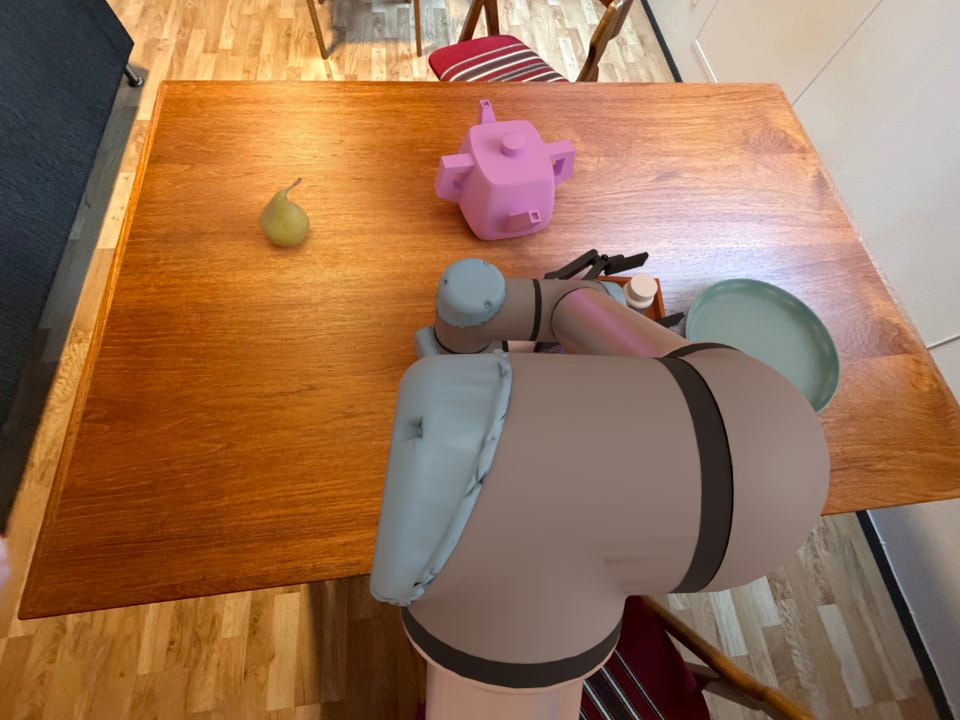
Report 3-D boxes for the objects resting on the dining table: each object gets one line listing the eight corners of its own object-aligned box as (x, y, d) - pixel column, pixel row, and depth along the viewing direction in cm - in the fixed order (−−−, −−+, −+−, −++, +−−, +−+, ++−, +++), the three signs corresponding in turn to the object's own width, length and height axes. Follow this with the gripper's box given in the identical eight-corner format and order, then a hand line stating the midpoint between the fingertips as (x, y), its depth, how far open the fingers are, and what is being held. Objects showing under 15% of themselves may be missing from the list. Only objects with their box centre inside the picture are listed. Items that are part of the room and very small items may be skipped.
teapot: (474, 152, 98) (484, 77, 84) (567, 194, 96) (593, 123, 82) (423, 226, 89) (424, 155, 76) (524, 273, 88) (544, 209, 74)
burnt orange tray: (664, 350, 84) (671, 343, 82) (590, 348, 83) (595, 340, 80) (652, 287, 89) (658, 278, 87) (583, 283, 88) (587, 274, 85)
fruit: (262, 226, 86) (240, 169, 75) (310, 215, 88) (295, 158, 77) (271, 259, 83) (250, 205, 73) (320, 248, 85) (307, 194, 75)
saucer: (718, 445, 78) (730, 438, 75) (652, 303, 88) (660, 292, 85) (856, 409, 83) (872, 401, 80) (779, 278, 93) (791, 267, 90)
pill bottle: (644, 314, 86) (666, 285, 78) (627, 333, 84) (649, 305, 76) (620, 296, 87) (639, 265, 79) (603, 314, 85) (621, 284, 77)
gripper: (492, 277, 83) (618, 243, 89) (553, 410, 75) (688, 364, 80) (499, 246, 77) (635, 212, 82) (567, 389, 68) (713, 340, 74)
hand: (661, 287), depth 81 cm, fingers open, 10 cm apart
